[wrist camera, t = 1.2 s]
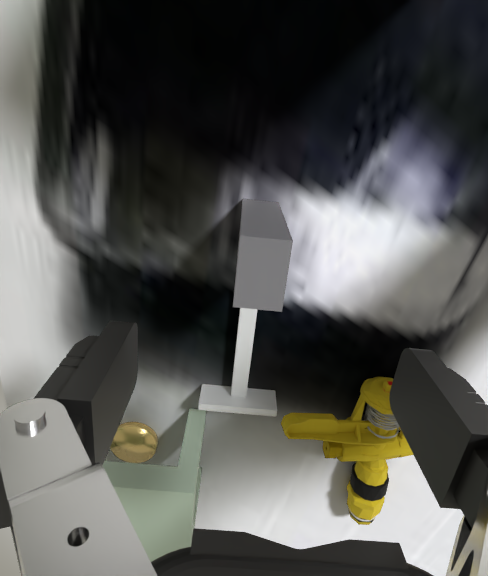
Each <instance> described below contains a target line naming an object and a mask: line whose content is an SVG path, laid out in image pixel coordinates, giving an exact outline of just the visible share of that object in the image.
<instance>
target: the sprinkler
mask: <svg viewBox="0 0 488 576" xmlns="http://www.w3.org/2000/svg"><path fill="white" fill-rule="evenodd" d="M392 383H393V378H388V377H375V378H371V379H367V380H365V381H364V383H363V385H362V386H361V389H360V392H361V394H360V397H359V399H358V401H357V404H356V406H355V408H354V411H353V413H352V415H351V417H348V418H347V419H346V420H337V419H336V417H335V416H334V415H333V414H323V413H289V414H287V415H285V416H284V417H283V419H282V422H281V425H282V428H283V431H284V433H285V435H286V436H287V437H288V438H289V439H314V440H322V441H323V452H324V455H325V458H335V457H337V459H338V460H340V461H341V462H345V461H356V462H355V464H354V465H353V468H352V474H351V480H350V481H349V483H348V485H347V491H348V499H347V505H348V507H349V513H350V516H351V518H352V519H354V520H355V521H356V522H357V523H358V524H365V525H369V524H370V523H371V522H372V521H373V520H374V518H375V516H376V515H377V514H379V513H380V511H381V508H382V506H383V503H384V495H385V494H386V491H387V486H388V482H389V478H388V473H387V472H388V466H387V463H386V460H385V459H391V458H397V457H404V456H409V455H414V454H413V452H412V450H411V448H410V446H409V444H408V442H407V440H406V438H405V436H404V434H403V432H402V431H401V430H400V427H399V425H398V423H397V421H396V419H395V417H394V416H392V415H393V413H392V410H391V407H390V400H389V396H390V389H391V386H392ZM365 402H366V403H367V406H366V411H365V413H366V414H365V421H361V419H362V414H363V410H364V406H365ZM371 408H372V409H371ZM373 410H374V411H375V412H376V413H375V412H374V411H373ZM371 414H372V415H373V416H374V417H375V418H374V417H373V416H372V415H371ZM366 417H367V419H368V420H367V421H366ZM371 417H372V418H371ZM396 430H397V432H396ZM399 430H400V432H399Z"/></svg>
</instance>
